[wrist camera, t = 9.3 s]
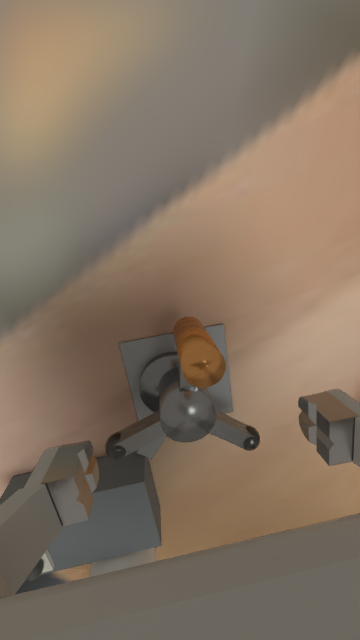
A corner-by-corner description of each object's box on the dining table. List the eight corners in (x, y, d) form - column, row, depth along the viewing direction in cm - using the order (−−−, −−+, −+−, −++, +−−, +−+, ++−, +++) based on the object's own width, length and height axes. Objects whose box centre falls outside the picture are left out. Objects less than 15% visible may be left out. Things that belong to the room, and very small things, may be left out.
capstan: (253, 305, 23) (322, 345, 14) (240, 414, 26) (289, 505, 17) (107, 305, 21) (74, 349, 12) (113, 421, 25) (91, 524, 15)
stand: (240, 488, 30) (260, 542, 24) (41, 534, 28) (15, 602, 23) (223, 323, 23) (244, 346, 18) (-37, 371, 22) (-98, 412, 17)
